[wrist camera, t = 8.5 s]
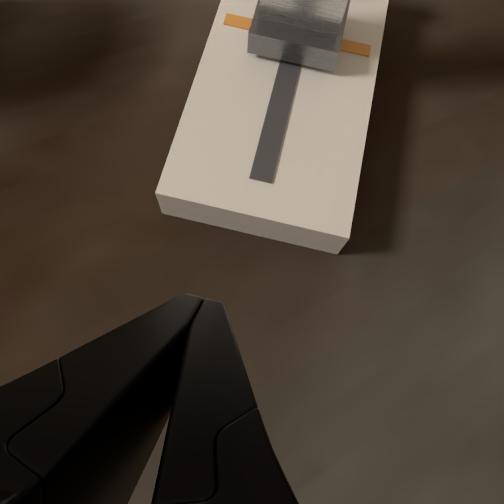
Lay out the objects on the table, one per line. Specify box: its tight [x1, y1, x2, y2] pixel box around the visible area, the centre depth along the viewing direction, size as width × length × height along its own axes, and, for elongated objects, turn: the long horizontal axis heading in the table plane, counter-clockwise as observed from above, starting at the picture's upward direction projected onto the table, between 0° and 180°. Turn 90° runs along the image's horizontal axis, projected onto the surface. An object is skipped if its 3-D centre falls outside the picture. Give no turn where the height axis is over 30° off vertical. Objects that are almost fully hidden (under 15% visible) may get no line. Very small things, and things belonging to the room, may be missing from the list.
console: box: [155, 0, 389, 254], centre depth 25 cm, size 18×10×4 cm, turn 167°
